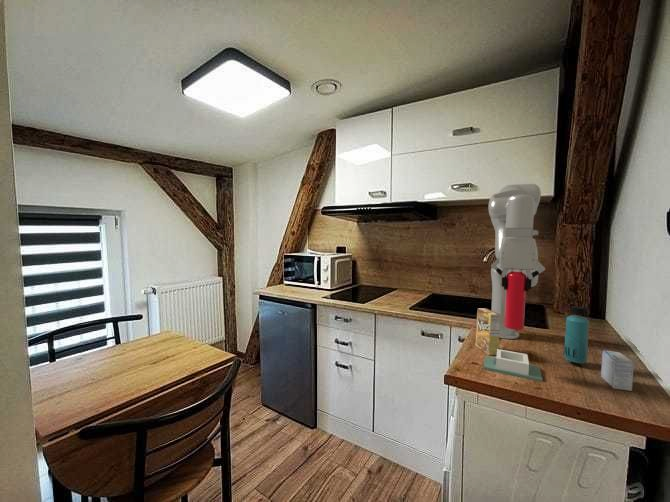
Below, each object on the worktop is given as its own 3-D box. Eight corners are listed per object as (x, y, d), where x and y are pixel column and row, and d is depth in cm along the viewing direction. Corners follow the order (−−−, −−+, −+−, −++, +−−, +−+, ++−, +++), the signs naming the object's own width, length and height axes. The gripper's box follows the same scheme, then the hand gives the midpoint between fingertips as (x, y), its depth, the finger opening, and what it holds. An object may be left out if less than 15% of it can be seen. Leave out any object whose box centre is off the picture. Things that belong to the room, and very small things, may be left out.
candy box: (474, 346, 118) (476, 308, 117) (484, 345, 119) (486, 307, 118) (488, 355, 109) (490, 314, 108) (499, 355, 110) (501, 314, 109)
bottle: (516, 330, 94) (519, 267, 93) (500, 325, 99) (503, 265, 98) (527, 328, 96) (530, 267, 95) (511, 323, 101) (514, 265, 100)
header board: (485, 358, 107) (485, 346, 107) (539, 368, 99) (539, 356, 99) (483, 369, 98) (484, 356, 98) (542, 381, 90) (543, 367, 90)
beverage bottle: (587, 363, 103) (591, 306, 102) (586, 370, 99) (590, 310, 97) (563, 358, 108) (567, 303, 106) (561, 363, 103) (565, 306, 102)
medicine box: (632, 392, 85) (634, 362, 85) (612, 388, 87) (614, 359, 86) (618, 379, 93) (620, 352, 92) (600, 376, 94) (602, 349, 94)
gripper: (549, 234, 95) (546, 291, 96) (489, 233, 103) (486, 285, 104) (553, 234, 88) (549, 295, 89) (488, 233, 97) (485, 289, 98)
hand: (515, 289), depth 97 cm, fingers closed on bottle, 5 cm apart
